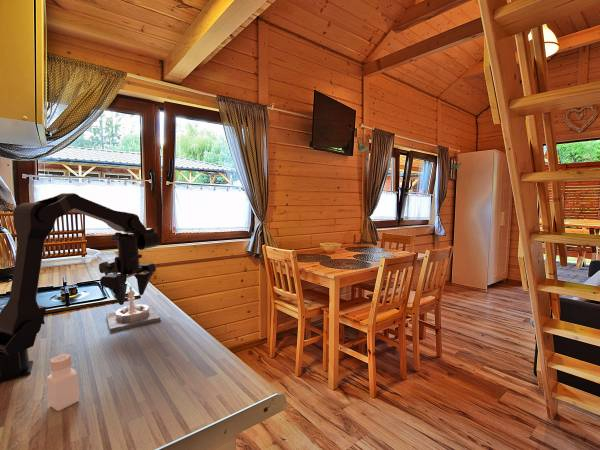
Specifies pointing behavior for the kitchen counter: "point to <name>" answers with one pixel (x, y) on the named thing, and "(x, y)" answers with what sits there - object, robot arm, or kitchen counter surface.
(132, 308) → the chess piece
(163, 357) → the kitchen counter surface
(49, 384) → the salt shaker
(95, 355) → the kitchen counter surface
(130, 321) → the hub plate
